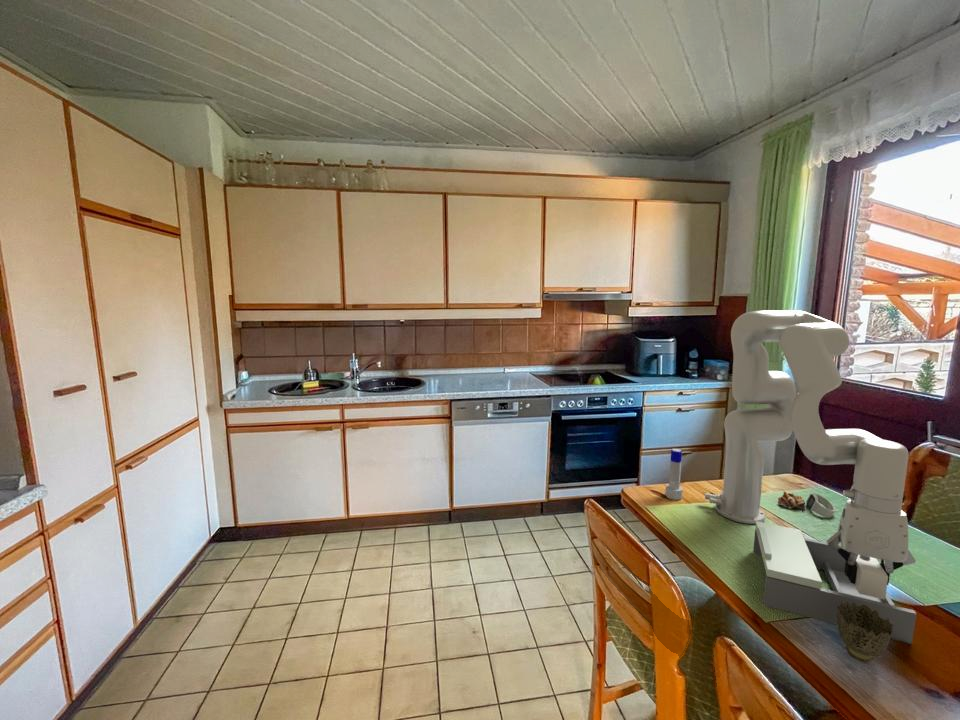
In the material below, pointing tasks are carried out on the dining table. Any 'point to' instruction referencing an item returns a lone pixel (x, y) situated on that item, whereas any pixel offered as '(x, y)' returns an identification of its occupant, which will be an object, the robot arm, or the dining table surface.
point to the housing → (832, 594)
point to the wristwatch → (816, 507)
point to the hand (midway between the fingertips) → (865, 582)
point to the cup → (863, 631)
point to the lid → (787, 555)
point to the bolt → (674, 476)
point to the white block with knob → (870, 577)
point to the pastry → (792, 501)
